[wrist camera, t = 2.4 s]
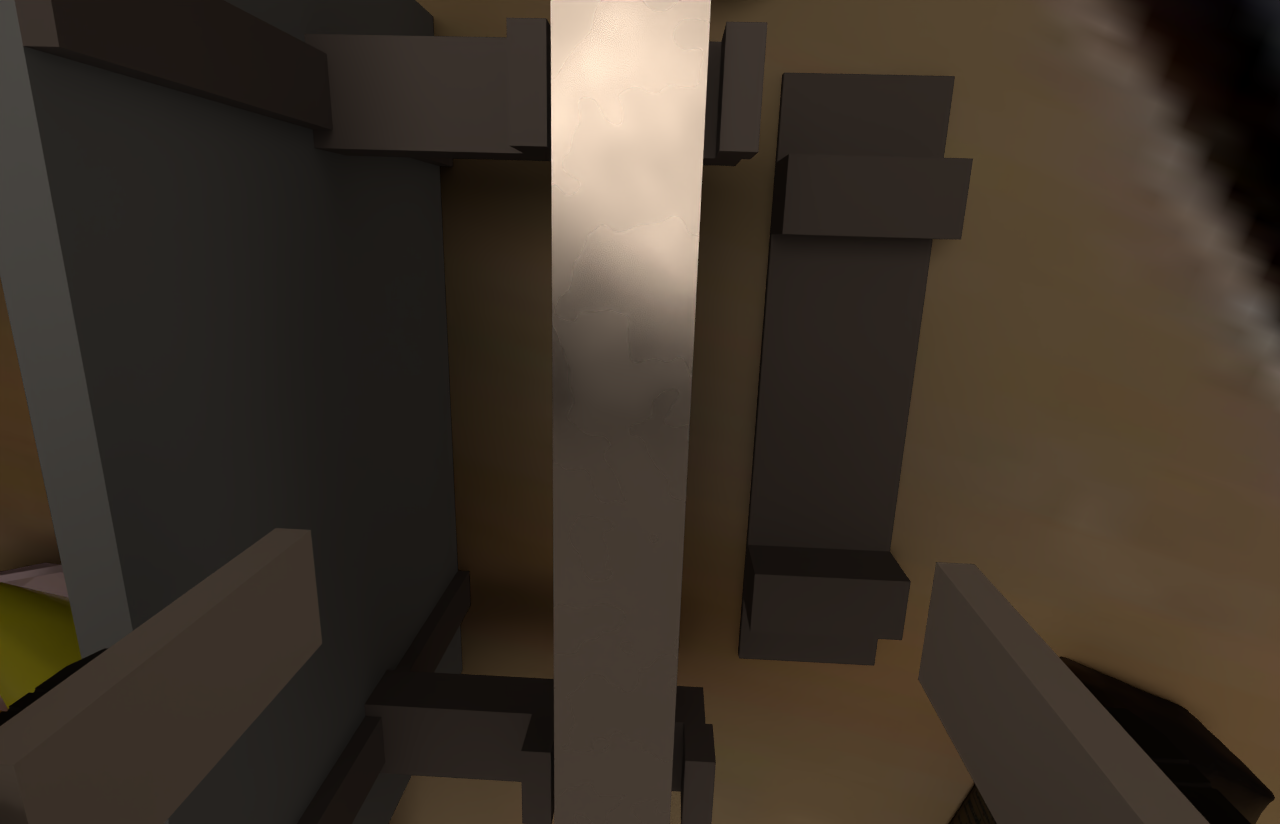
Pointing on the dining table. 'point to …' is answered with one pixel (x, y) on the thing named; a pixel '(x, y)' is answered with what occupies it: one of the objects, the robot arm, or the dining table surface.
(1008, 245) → the dining table surface
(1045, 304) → the dining table surface
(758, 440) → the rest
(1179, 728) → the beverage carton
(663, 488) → the rail
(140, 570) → the panel
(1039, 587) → the dining table surface
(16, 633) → the fruit bowl
